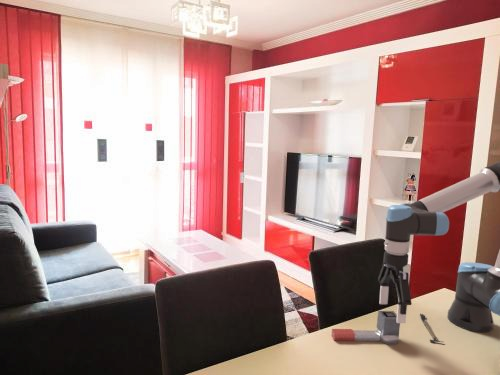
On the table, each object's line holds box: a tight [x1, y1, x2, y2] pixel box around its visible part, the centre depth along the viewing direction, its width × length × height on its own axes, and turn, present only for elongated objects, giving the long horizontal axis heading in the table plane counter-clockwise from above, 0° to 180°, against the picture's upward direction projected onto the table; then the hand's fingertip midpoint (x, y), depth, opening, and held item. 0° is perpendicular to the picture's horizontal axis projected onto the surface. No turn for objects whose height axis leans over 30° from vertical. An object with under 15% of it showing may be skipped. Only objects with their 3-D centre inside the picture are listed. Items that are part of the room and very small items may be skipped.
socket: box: [376, 310, 401, 337], centre depth 127 cm, size 5×5×6 cm
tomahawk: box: [419, 313, 446, 346], centre depth 136 cm, size 21×7×1 cm, turn 167°
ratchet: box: [330, 313, 400, 345], centre depth 127 cm, size 22×7×9 cm, turn 93°
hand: (391, 312), depth 126 cm, fingers open, 13 cm apart
